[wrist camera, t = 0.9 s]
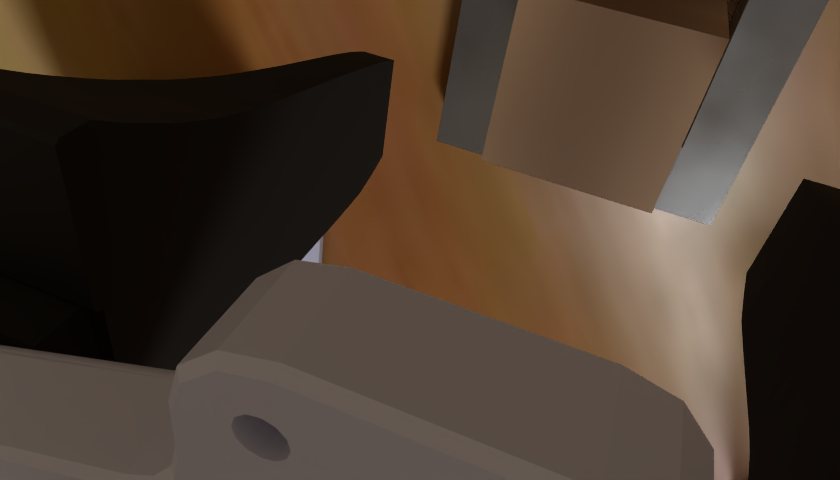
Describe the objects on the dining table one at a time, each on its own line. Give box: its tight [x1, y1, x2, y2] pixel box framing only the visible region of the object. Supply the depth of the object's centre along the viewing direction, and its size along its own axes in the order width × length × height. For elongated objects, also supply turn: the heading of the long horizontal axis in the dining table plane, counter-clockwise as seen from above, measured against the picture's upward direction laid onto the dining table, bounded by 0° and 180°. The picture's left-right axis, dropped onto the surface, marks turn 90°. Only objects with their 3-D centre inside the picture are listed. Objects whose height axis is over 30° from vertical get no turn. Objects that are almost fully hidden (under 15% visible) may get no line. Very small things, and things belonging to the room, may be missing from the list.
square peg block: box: [481, 0, 729, 213], centre depth 16 cm, size 4×4×7 cm
